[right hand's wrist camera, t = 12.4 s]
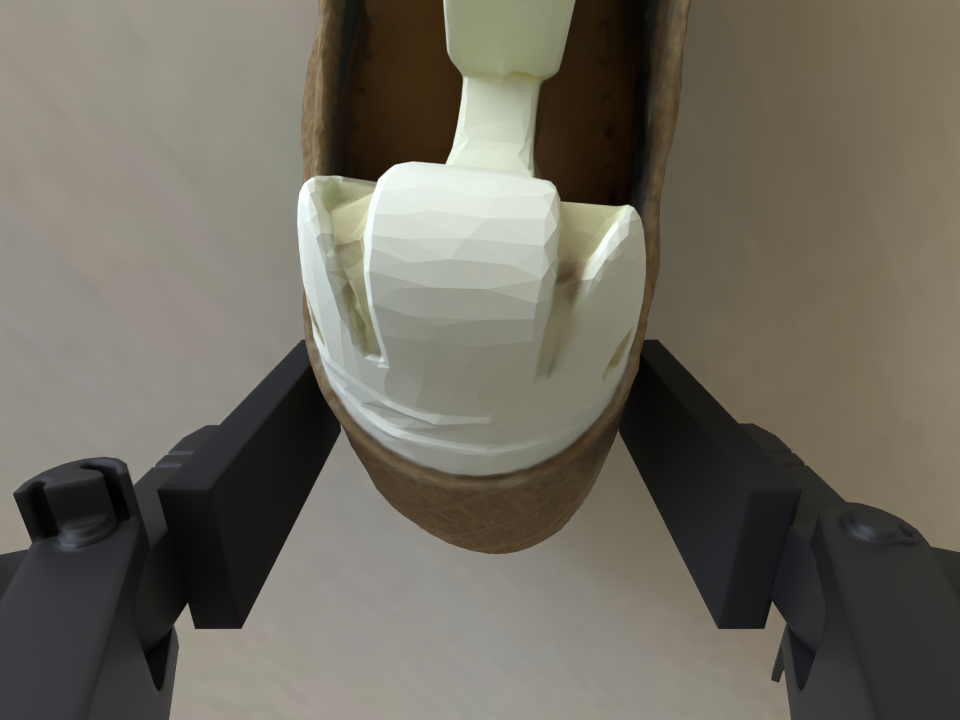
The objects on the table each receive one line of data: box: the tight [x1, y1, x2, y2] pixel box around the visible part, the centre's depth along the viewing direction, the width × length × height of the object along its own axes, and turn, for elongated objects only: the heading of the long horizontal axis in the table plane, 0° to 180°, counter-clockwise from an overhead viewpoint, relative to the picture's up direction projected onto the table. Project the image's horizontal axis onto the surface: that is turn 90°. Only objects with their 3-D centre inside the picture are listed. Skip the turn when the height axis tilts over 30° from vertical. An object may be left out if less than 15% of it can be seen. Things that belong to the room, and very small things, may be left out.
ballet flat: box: [297, 0, 691, 554], centre depth 9 cm, size 8×24×9 cm, turn 172°
